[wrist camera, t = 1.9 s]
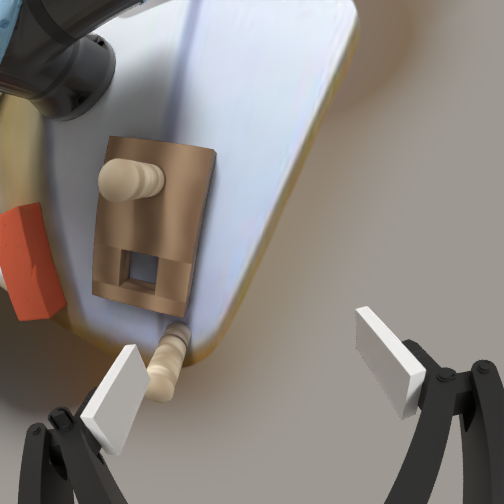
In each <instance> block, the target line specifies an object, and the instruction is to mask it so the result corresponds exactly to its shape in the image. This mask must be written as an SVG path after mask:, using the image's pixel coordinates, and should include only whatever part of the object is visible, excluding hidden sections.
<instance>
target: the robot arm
mask: <svg viewBox="0 0 504 504" xmlns="http://www.w3.org/2000/svg"><path fill="white" fill-rule="evenodd" d="M146 1H147V0H0V92H2V93H6V94H10V95H14V96H17V97H21V98H25V99H28V100H29V101H30V102H31V103H32V104H33V105H34V106H35V107H36V108H37V109H38V110H39V112H40V113H41V114H43V115H44V116H46V117H48V118H51V119H55V120H59V121H66V120H71V119H74V118H76V117H78V116H80V115H82V114H83V113H85V112H86V111H88V110H89V109H90V108H91V107H92V106H93V105H94V104H95V103H96V102H97V101H98V100H99V99H100V98H101V96H102V95H103V94H104V92H105V91H106V89H107V87H108V85H109V83H110V81H111V79H112V76H113V73H114V69H115V53H114V50H113V48H112V46H111V45H110V44H109V43H108V42H107V41H106V40H105V39H104V38H103V37H101V36H99V35H97V34H94V33H90V32H92V31H93V30H95V29H97V28H98V27H100V26H101V25H103V24H105V23H106V22H108V21H110V20H112V19H113V18H115V17H117V16H119V15H120V14H122V13H124V12H126V11H128V10H130V9H131V8H134V7H136V6H138V5H142V4H144V3H146ZM355 310H356V311H355V312H356V349H357V350H358V352H359V353H360V355H361V356H362V358H363V359H364V361H365V363H366V364H367V365H368V367H369V369H370V370H371V372H372V373H373V375H374V377H375V378H376V380H377V381H378V383H379V385H380V386H381V387H382V389H383V391H384V393H385V394H386V396H387V397H388V399H389V401H390V402H391V404H392V405H393V407H394V409H395V410H396V412H397V414H398V415H399V417H400V418H401V420H402V419H405V418H407V417H410V416H412V415H415V414H416V411H417V407H418V406H419V408H420V409H421V411H422V412H421V415H420V418H419V421H418V424H417V427H416V430H415V433H414V436H413V439H412V442H411V444H410V447H409V449H408V452H407V455H406V457H405V460H404V462H403V464H402V467H401V469H400V472H399V474H398V476H397V478H396V481H395V482H394V485H393V487H392V489H391V491H390V493H389V495H388V497H387V499H386V501H385V503H384V504H427V503H428V500H429V498H430V495H431V492H432V489H433V487H434V484H435V481H436V478H437V475H438V471H439V468H440V465H441V462H442V458H443V455H444V451H445V447H446V443H447V439H448V434H449V430H450V426H451V421H452V416H455V415H459V419H460V428H461V438H462V452H463V504H504V388H503V385H502V382H501V379H500V376H499V373H498V371H497V368H496V366H495V365H494V364H493V363H492V362H491V361H488V360H479V361H476V362H475V363H474V364H473V366H472V368H471V371H467V372H462V373H456V371H454V370H453V369H450V368H441V367H440V366H439V365H438V364H437V363H436V362H435V361H434V360H433V359H432V358H431V357H430V356H429V355H428V354H427V353H426V352H425V351H424V349H422V347H420V345H419V344H418V343H416V342H414V341H412V340H409V339H408V340H405V341H403V342H400V340H399V339H398V338H397V337H396V336H395V335H394V334H393V333H392V332H391V331H390V330H389V328H388V327H387V326H386V325H385V324H384V323H383V322H382V321H381V320H380V319H379V318H378V317H377V316H376V315H375V314H374V313H373V312H372V311H371V310H370V308H368V306H366V307H362V308H358V309H355ZM150 380H151V379H150V377H149V374H148V372H147V370H146V368H145V365H144V363H143V360H142V358H141V356H140V353H139V351H138V348H137V346H136V345H125V347H124V348H123V350H122V351H121V353H120V354H119V356H118V357H117V359H116V360H115V362H114V363H113V365H112V367H111V368H110V370H109V371H108V373H107V374H106V376H105V377H104V379H103V380H102V382H101V384H100V385H99V387H95V388H94V389H93V390H91V391H90V392H89V394H88V395H87V397H86V398H85V400H84V401H83V403H82V405H81V406H80V408H79V409H78V411H77V412H76V414H75V415H74V417H73V416H72V414H71V412H70V411H69V409H68V408H66V407H58V408H56V409H54V410H52V411H51V412H50V414H49V415H48V420H49V421H50V423H51V424H52V426H53V427H54V429H50V430H48V429H47V428H46V426H45V425H44V424H43V423H35V424H32V425H31V426H30V427H29V429H28V430H27V433H26V439H25V444H24V450H23V456H22V463H21V471H20V480H19V492H18V504H74V494H73V490H74V493H75V495H76V498H77V500H78V503H79V504H128V503H127V501H126V500H125V498H124V496H123V495H122V493H121V491H120V489H119V487H118V486H117V484H116V482H115V480H114V478H113V476H112V475H111V473H110V471H109V469H108V467H107V465H106V462H105V461H104V459H103V456H102V455H101V454H100V452H99V451H100V449H101V447H102V448H103V449H104V451H105V452H106V453H107V454H110V455H117V456H120V453H121V451H122V449H123V446H124V443H125V441H126V438H127V436H128V433H129V431H130V428H131V426H132V423H133V421H134V419H135V416H136V414H137V411H138V408H139V406H140V404H141V401H142V399H143V397H144V394H145V392H146V390H147V387H148V385H149V383H150Z"/></svg>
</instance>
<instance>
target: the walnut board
mask: <svg viewBox="0 0 504 504" xmlns="http://www.w3.org/2000/svg"><path fill="white" fill-rule="evenodd" d="M215 157H216V152H215V151H214V149H209V148H203V147H197V146H190V145H184V144H177V143H170V142H163V141H155V140H146V139H137V138H127V137H116V136H110V137H109V141H108V146H107V151H106V156H105V161H104V166H103V167H102V169H101V171H100V173H99V177H98V187H99V190H100V192H99V199H98V207H97V216H96V226H95V237H94V252H93V276H92V295H96V296H99V297H103V298H106V299H110V300H113V301H117V302H121V303H124V304H128V305H132V306H136V307H140V308H144V309H148V310H152V311H156V312H160V313H164V314H169V315H173V316H177V317H182V318H184V316H185V313H186V311H187V309H188V306H189V300H190V293H191V286H192V280H193V274H194V267H195V261H196V255H197V249H198V244H199V238H200V232H201V227H202V221H203V216H204V211H205V206H206V200H207V195H208V190H209V186H210V181H211V176H212V171H213V166H214V162H215ZM131 251H133V252H138V253H142V254H147V255H151V256H156V257H159V261H158V269H157V278H156V284H154V283H149V282H145V281H141V280H137V279H133V278H129V269H130V257H131Z"/></svg>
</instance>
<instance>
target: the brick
mask: <svg viewBox="0 0 504 504" xmlns="http://www.w3.org/2000/svg"><path fill="white" fill-rule="evenodd" d="M0 267H1V270H2V274H3V277H4V280H5V283H6V286H7V290H8V292H9V296H10V298H11V301H12V304H13V306H14V309H15V312H16V314H17V316H18V319H19V320H20V321H26V320H38V319H49V318H51V317H52V316H53V315H54V314H55V313H57V312H58V311H59V310H61V309H62V308H63V307H64V306H66V304H67V303H66V300H65V297H64V294H63V291H62V288H61V285H60V282H59V279H58V276H57V272H56V269H55V266H54V263H53V259H52V255H51V251H50V247H49V243H48V239H47V235H46V230H45V226H44V221H43V216H42V211H41V205H40V204H39V203H34V204H28V205H22V206H18V207H15V208H13V209H11V210H9V211H7V212H5V213H3V214H1V215H0Z"/></svg>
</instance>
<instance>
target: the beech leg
mask: <svg viewBox="0 0 504 504" xmlns="http://www.w3.org/2000/svg"><path fill="white" fill-rule="evenodd" d="M190 338H191V331H190V329H189V327H188V326H187V325H186V324H184V323H182V322H177V321H176V322H172V323H170V324H169V325H168V326H167V328H166V330H165V332H164V334H163V336H162V338H161V339H160V341H159V344H158V347H157V349H156V351H155V353H154V355H153V357H152V359H151V361H150V363H149V365H148V368H147V372H148V374H149V377H150V379H151V380H150V383H149V385H148V387H147V390H146V392H145V394H144V396H145V397H147V398H148V399H150V400H152V401H154V402H158V403H164V402H168V401H170V400H171V399H172V397H173V394H174V390H175V386H176V383H177V380H178V377H179V373H180V370H181V367H182V364H183V360H184V357H185V355H186V353H187V347H188V344H189V341H190Z"/></svg>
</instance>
